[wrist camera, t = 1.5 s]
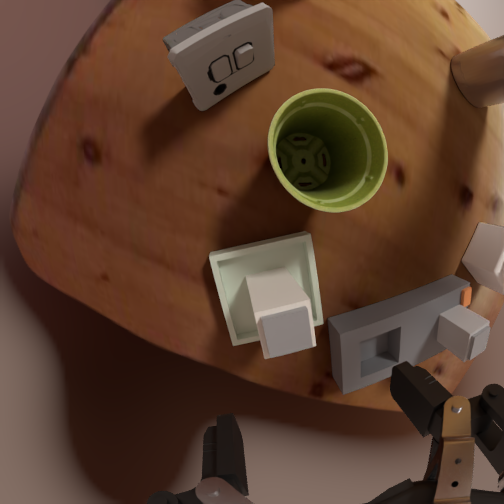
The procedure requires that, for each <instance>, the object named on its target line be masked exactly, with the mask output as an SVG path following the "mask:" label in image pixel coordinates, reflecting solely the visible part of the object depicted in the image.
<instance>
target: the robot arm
mask: <svg viewBox="0 0 504 504" xmlns="http://www.w3.org/2000/svg"><path fill="white" fill-rule="evenodd" d="M451 68H452V72H453V76H454V78H455V81H456V83H457V85H458V87H459V89H460V90H461V92H462V94H463V95H464V96H465V98H466V99H467V100H468V101H469V102H470V103H471V104H472V105H474V106H476V107H478V108H481V107H486V106H491V105H496V104H501V103H504V35H503V36H500V37H497V38H495V39H492V40H490V41H488V42H485V43H483V44H480V45H478V46H476V47H473V48H471V49H469V50H467V51H464V52H462V53H460V54H458V55H456V56H454V57H453V58H452V61H451ZM390 392H391V395H392V397H393V399H394V400H395V401H396V402H397V404H398V405H399V406H400V408H401V409H402V410H403V411H404V413H405V414H406V415H407V417H408V418H409V419H410V421H411V422H412V423H413V424H414V426H415V427H416V428H417V430H418V431H419V432H420V434H421V435H422V436H423V437H425V436H427V435H429V434H430V433H431V434H432V436H433V437H432V441H431V448H430V454H429V459H428V465H427V469H426V472H425V475H424V478H423V480H422V481H416V482H412V481H411V480H410V479H407V480H405V481H403V482H401V483H399V484H397V485H395V486H393V487H391V488H389V489H387V490H386V491H385V492H383V493H382V494H380V495H379V496H378V497H376V498H375V499H373V500H372V501H370V502H368V503H365V504H504V388H503V387H502V386H500V385H498V384H490V385H488V386H486V387H485V388H484V389H483V392H482V394H481V395H479V396H476V397H473V398H470V399H466V398H465V397H462V396H452V395H451V394H450V393H449V392H448V391H447V390H446V389H445V388H444V387H443V386H442V385H441V384H440V383H439V382H438V381H436V379H435V378H434V377H433V376H431V374H430V373H429V372H428V371H427V370H426V369H423V368H421V367H418V366H416V367H413V366H412V365H411V364H410V363H409V362H408V361H404V362H402V363H400V364H398V365H395V366H393V368H392V374H391V384H390ZM493 420H494V421H495V423H496V424H497V425H498V426H499V427H500V428H501V429H502V430H501V429H500V428H499V427H498V426H497V425H496V424H495V423H494V421H493ZM475 443H476V445H477V446H478V447H479V449H480V450H481V451H482V453H483V454H484V455H485V456H486V458H487V459H488V460H489V462H490V463H491V465H492V466H493V467H494V469H495V470H496V472H497V473H498V474H499V478H498V490H499V491H500V492H493V491H484V490H477V489H471V486H472V478H473V467H474V451H475ZM203 444H204V445H203V465H202V479H201V481H200V483H198V485H197V486H196V487H195V488H194V489H192V490H189V491H186V492H183V493H179V494H176V495H174V494H173V493H171V492H168V491H159V492H156V493H154V494H152V495H151V496H150V497H149V499H148V501H147V504H253V502H251V501H250V500H248V499H247V498H246V497H245V496H247V495H249V493H248V484H247V476H246V466H245V457H244V447H243V439H242V435H241V432H240V429H239V427H238V424H237V422H236V419H235V417H234V415H233V413H230V414H223V415H218V416H217V426H212V427H208V429H207V430H206V432H205V434H204V441H203Z"/></svg>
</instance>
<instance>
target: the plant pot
mask: <svg viewBox="0 0 504 504" xmlns="http://www.w3.org/2000/svg"><path fill="white" fill-rule="evenodd" d="M295 137H304V138H306V141H302V140H298V141H293V139H294V138H295ZM268 154H269V158H270V162H271V165H272V168H273V170H274V172H275V174H276V176H277V178H278V179H279V181H280V183H281V184H282V185H283V187H284V188H285V189H286V190H287V191H288V192H289V193H290V194H291V195H292V196H293V197H294V198H296V199H297V200H298V201H300V202H301V203H303V204H305V205H307V206H308V207H311V208H313V209H316V210H320V211H324V212H344V211H349V210H352V209H355V208H357V207H359V206H361V205H362V204H364V203H365V202H367V201H368V200H369V199H370V198H372V196H373V195H374V194H375V193H376V192H377V190H378V189H379V187H380V186H381V184H382V182H383V179H384V176H385V173H386V169H387V163H388V152H387V144H386V140H385V136H384V134H383V132H382V129H381V126H380V124H379V123H378V121H377V119H376V118H375V117H374V115H373V114H372V113H371V112H370V111H369V109H368V108H367V107H366V106H365V105H364V104H362V103H361V102H360V101H358V100H357V99H355V98H354V97H352V96H350V95H348V94H346V93H344V92H341V91H337V90H333V89H323V88H321V89H311V90H306V91H304V92H301V93H298V94H296V95H294V96H293V97H291V98H290V99H288V100H287V101H286V102H285V103H284V104H283V105H282V106H281V107H280V108H279V109H278V111H277V112H276V114H275V116H274V118H273V120H272V122H271V125H270V128H269V133H268ZM322 154H325V158H326V166H325V167H324V166H323V156H322ZM279 157H281V165H282V170H281V169H280V167H279V164H278V158H279ZM303 158H304V159H305V160H306V162H305V164H303V163H302V162H301V160H302V159H303ZM308 182H309V183H310V182H312V183H311V185H308V186H300V185H299V183H308Z"/></svg>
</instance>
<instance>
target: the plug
mask: <svg viewBox="0 0 504 504" xmlns="http://www.w3.org/2000/svg"><path fill="white" fill-rule="evenodd" d="M245 276H246V281H247V285H248V290H249V294H250V298H251V303H252V307H253V311H254V315H255V320H256V324H257V328H258V333H259V337H260V341H261V345H262V349H263V354H264V358H265V359H268V358H273V357H277V356H281V355H285V354H289V353H293V352H297V351H301V350H304V349H308V348H312V347H314V346H316V340H315V332H314V324H313V317H312V309H311V302H310V299H309V297H308V296H307V295H306V293H305V292H304V291H303V290H302V288H301V287H300V286H299V284H298V283H297V282H296V281H295V279H294V278H293V277H292V275H291V274H290V273H289V272H288V270H287V269H286V268H285V267H280V268H276V269H271V270H267V271H263V272H258V273H254V274H250V275H245Z"/></svg>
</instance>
